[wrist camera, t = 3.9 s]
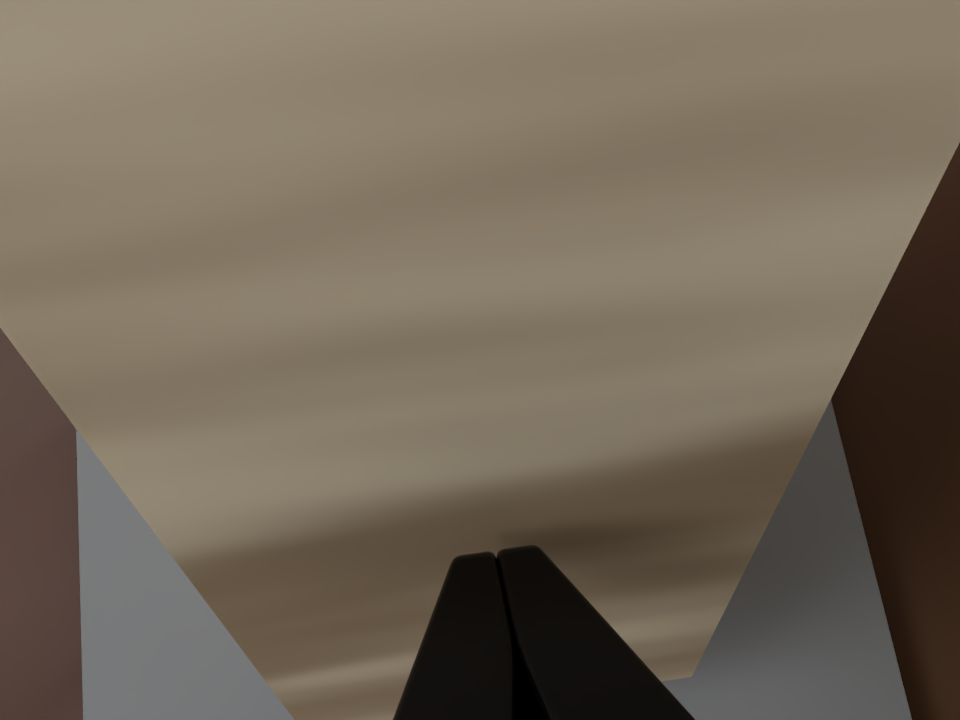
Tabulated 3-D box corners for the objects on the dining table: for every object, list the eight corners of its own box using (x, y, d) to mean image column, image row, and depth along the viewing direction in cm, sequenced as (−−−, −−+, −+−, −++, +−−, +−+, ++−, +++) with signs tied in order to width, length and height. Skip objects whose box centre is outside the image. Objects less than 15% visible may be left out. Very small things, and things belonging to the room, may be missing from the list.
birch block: (695, 679, 13) (1540, -949, 2) (304, 741, 13) (-895, -812, 2) (630, 456, 16) (887, -846, 5) (300, 503, 16) (-241, -779, 4)
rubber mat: (1006, 1142, 14) (1023, 1159, 13) (109, 1314, 13) (97, 1337, 12) (677, -174, 20) (682, -190, 20) (70, -114, 19) (62, -128, 19)
